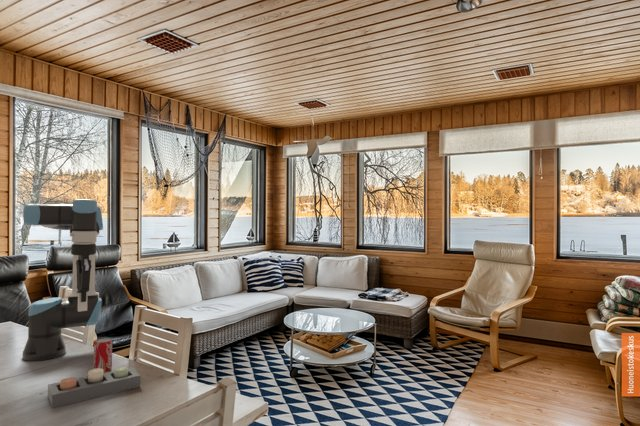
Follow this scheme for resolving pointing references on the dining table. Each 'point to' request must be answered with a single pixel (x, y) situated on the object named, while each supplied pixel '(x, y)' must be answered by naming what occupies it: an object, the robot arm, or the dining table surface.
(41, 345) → the robot arm
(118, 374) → the button sage
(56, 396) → the grey slotted tray
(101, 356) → the beverage can
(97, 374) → the button cream
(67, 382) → the button rust
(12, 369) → the dining table surface
